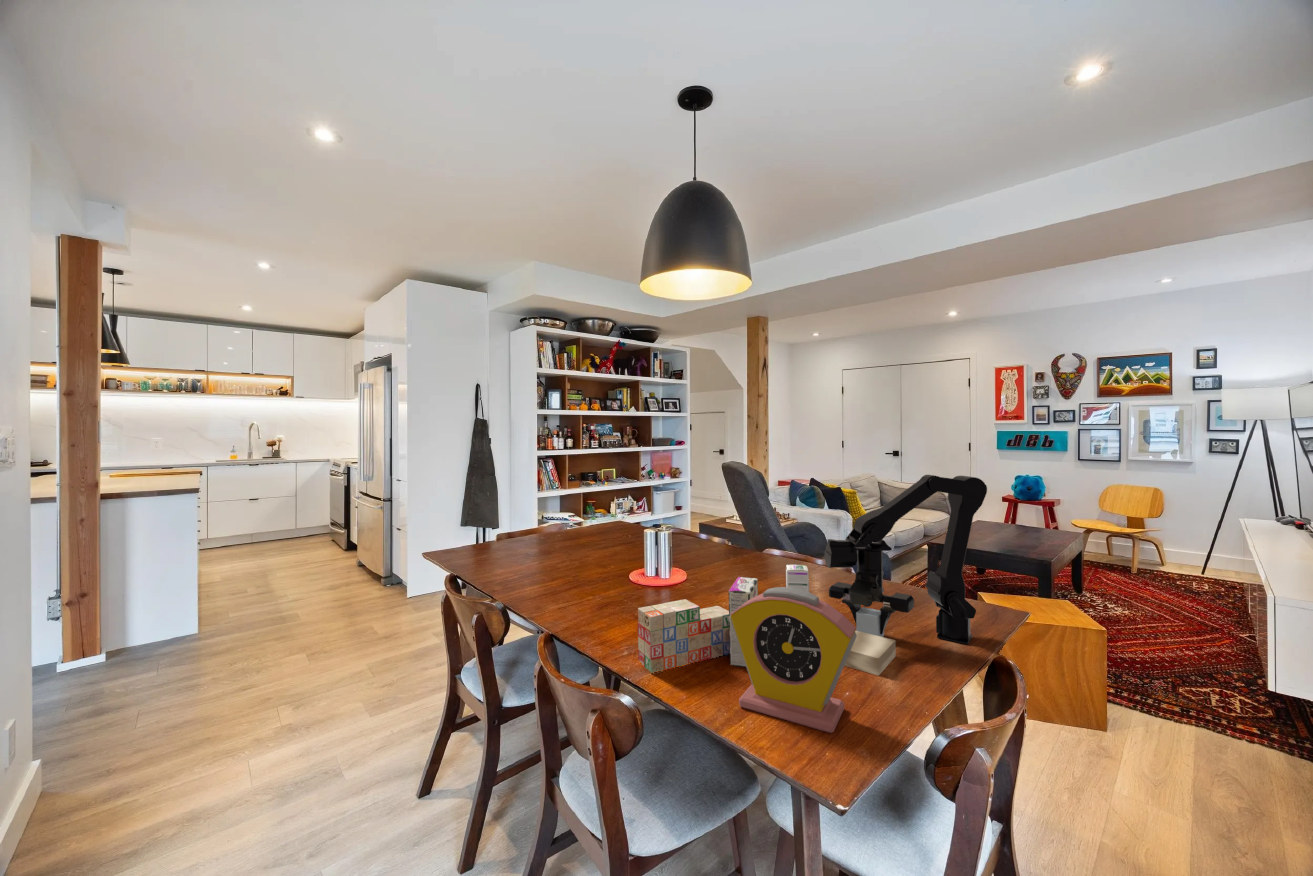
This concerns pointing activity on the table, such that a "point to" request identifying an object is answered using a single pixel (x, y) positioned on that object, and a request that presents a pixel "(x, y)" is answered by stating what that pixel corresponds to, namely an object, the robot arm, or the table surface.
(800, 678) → the yellow mantel clock
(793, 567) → the syrup box
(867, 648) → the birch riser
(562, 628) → the table surface
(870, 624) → the slate block
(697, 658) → the stack of blocks
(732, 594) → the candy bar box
